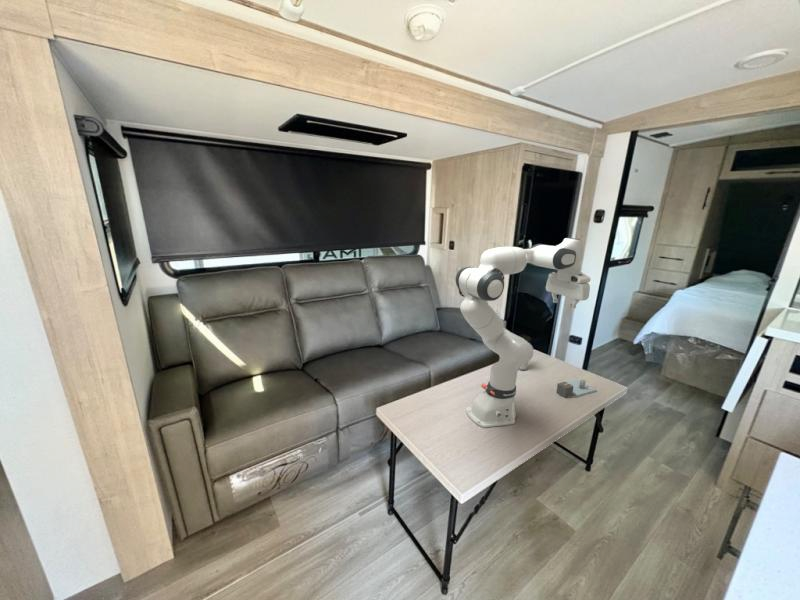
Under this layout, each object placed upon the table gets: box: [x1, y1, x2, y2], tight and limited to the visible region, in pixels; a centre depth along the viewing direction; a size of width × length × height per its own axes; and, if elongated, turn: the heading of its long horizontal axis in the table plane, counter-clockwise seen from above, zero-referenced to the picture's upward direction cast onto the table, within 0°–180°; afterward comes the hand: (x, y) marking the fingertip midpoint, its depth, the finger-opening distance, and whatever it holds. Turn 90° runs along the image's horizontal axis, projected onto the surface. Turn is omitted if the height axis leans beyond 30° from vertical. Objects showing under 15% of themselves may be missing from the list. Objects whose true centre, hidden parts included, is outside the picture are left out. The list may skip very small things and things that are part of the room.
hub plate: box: [556, 378, 598, 398], centre depth 163 cm, size 14×12×5 cm
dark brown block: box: [556, 381, 574, 399], centre depth 157 cm, size 5×5×6 cm
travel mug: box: [518, 334, 532, 372], centre depth 182 cm, size 6×7×20 cm
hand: (563, 305), depth 142 cm, fingers open, 8 cm apart
